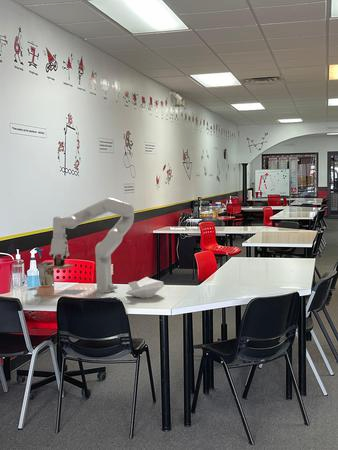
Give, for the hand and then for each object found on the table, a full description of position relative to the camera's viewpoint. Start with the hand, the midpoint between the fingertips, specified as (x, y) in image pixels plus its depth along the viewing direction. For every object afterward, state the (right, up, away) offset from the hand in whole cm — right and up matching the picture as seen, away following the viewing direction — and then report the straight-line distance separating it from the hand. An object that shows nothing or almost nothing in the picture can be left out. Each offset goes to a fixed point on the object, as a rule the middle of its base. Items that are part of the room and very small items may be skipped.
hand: (59, 265), depth 364 cm
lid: (0, -1, 0) cm, 1 cm away
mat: (+7, -18, +3) cm, 19 cm away
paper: (+54, -18, -18) cm, 60 cm away
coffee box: (-14, -17, +30) cm, 37 cm away
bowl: (-8, -18, -1) cm, 20 cm away
